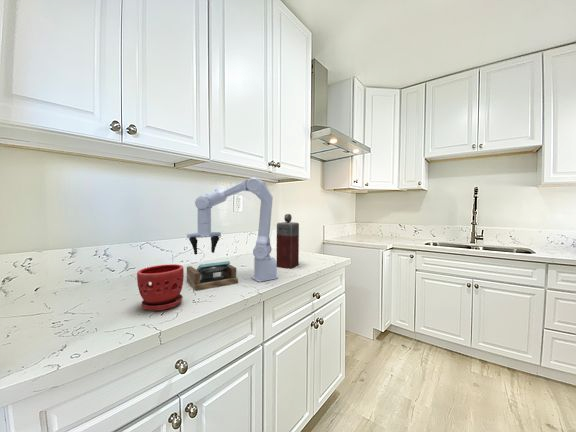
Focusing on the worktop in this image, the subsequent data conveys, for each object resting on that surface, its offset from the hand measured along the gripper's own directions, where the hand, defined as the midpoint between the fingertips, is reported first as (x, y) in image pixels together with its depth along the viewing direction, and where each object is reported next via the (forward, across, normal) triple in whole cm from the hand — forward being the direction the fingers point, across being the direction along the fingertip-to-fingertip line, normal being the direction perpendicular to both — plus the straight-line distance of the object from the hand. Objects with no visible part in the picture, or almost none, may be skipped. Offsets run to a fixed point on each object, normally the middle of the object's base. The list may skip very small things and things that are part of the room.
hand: (204, 253), depth 111 cm
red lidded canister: (+11, -42, +4) cm, 44 cm away
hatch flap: (+7, 0, +11) cm, 14 cm away
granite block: (+8, 0, +4) cm, 9 cm away
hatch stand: (+10, 0, +10) cm, 14 cm away
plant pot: (+11, +21, +26) cm, 35 cm away
